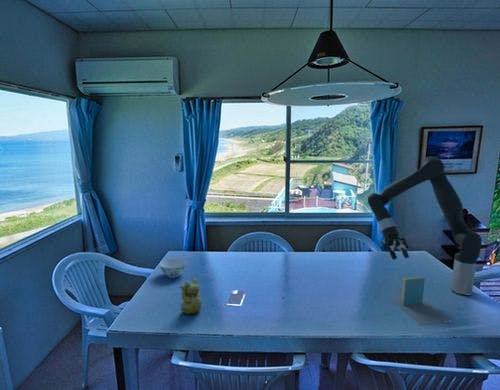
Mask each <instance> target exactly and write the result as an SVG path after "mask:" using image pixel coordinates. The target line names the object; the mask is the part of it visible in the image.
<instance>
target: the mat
mask: <svg viewBox="0 0 500 390" xmlns="http://www.w3.org/2000/svg"><path fill="white" fill-rule="evenodd" d="M390 302H392V303H393V304H394V305H395V306H397V307H398V308H399V309H400V310H402V311H403V312H404V313H405V314H406V315H408V316H409V317H410V318H412V320H414V321H415V322H416V323H418V325H420V326H431V325H432V326H433V325H441V324H442V323H443V324H446V323H445V321H447V322H449V320H450V321H452V322H453V321H454V320H453V319H451V318H450V317H448V316H447V315H446V314H443V313H442V312H441V311H439V310H438V309H437V308H435V307H434V306H432V305H431V304H430V303H428V302H427V301H426V300H424V299H423V300H422V304H413V305H402V304H401V298H395V299H394V298H393V299H390ZM453 323H454V322H453Z"/></svg>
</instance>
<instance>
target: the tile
mask: <svg viewBox="0 0 500 390" xmlns="http://www.w3.org/2000/svg"><path fill="white" fill-rule="evenodd" d="M425 281H426V278H425V277H424V276H413V277H412V276H411V277H410V276H409V277H403V278H402V289H401V298H400V299H401V304H402V305H413V304H422V300H424V299H423V298H424V290H425V289H424V288H425Z"/></svg>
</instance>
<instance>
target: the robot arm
mask: <svg viewBox="0 0 500 390" xmlns="http://www.w3.org/2000/svg"><path fill="white" fill-rule="evenodd" d="M427 181H429V182H430V184H431V186H432V189H433V193H434V196H435V199H436V201H437V204H438V205H439V207H440V210H441V211H442V214H443V215H444V217H445V220H446V221H447V223H448V225H449V228H450V231H451V234H452V236H453V239H454V242H455V244H457V245H459V246H460V251H459V252H456V253H455V254H454V262H453V270H452V277H451V284H450V285H451V286H450V290H451V289H452V290H453V291H455V292H458V293H461V294H471V293H472V294H473V291H474V290H473V289H474V282H475V275H476V268H477V261H478V259H479V258H480V254H481V249H482V242H483V241H482V237H481V235H480V234H479V233H477V232H475V231H473V230H471V229H470V228H469V226H468V225H467V223H466V221H465V220H464V207H463V203H462V202H461V199H460V197H459V195H458V193H457V192H456V190H455V188H454V187H453V185H452V184H451V182H450V181H449V179H448V177H447V175H446V172H445V164H444V162H443V161H442V159H441V158H439V157H437V156H433V155H429V156H427V157H425V158H423V160H422V161H421V165H420V168H419V169H417V170H416V171H414V172H413V173H410V174H409V175H407V176H405V177H401V178H399V179H397V180H395V181H393V182H392V183H390V184H388V185H387V186H385V187H384V188H383V191H382V192H380V193H376V192H373V193H370V194H369V195H368V196H367V203H368V204H367V205H368V207H370V209H371V211H372V212H373V214H374V216H375V219H376V221H377V223H378V226H379V227H378V228H379V230H380V233H381V235H382V237H383V240H381V243H382V245H383V248H384V251H385V252H387V253H389V254H390V257H391V259H392V260H394V261H395V260H397V259H398V257H397V255H396V252H395V251H394V250H395V248H397V249H398V250H400V251H401V253H402V255H403V257H404V259H407V258H409V257H410V255H409V253H408V251H407V250H408V249H409V245H408V243H407V241H406V239H405V237H401V238H400V237H399V235H400V233H399V231H398V228H397V226H396V224H395V221H394V220H393V218H392V216H391V214H390V211H389V209H387V208H386V207H385V206H386V205H387V204H388V203H389V202H390V201H392V200H393V199H395V198H396V197H398V196H400V195H401V194H403V193H405V192H406V191H408V190H410V189H412V188H413V187H416V186H418V185H421V184H422V183H425V182H427Z"/></svg>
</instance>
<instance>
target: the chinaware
mask: <svg viewBox="0 0 500 390" xmlns="http://www.w3.org/2000/svg"><path fill="white" fill-rule="evenodd" d="M186 266H187V260H186V259H185V258H181V257H180V258H179V257H172V258H171V257H170V258H166V259H164V260H162V261H160V262H159V267H160V270H161V271H162V273H164V275H166V276H167V277H168V278H171V279H172V278H173V279H174V278H178V277H179V276H180V274H182V273H183V272H184V270H185V268H186Z"/></svg>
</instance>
